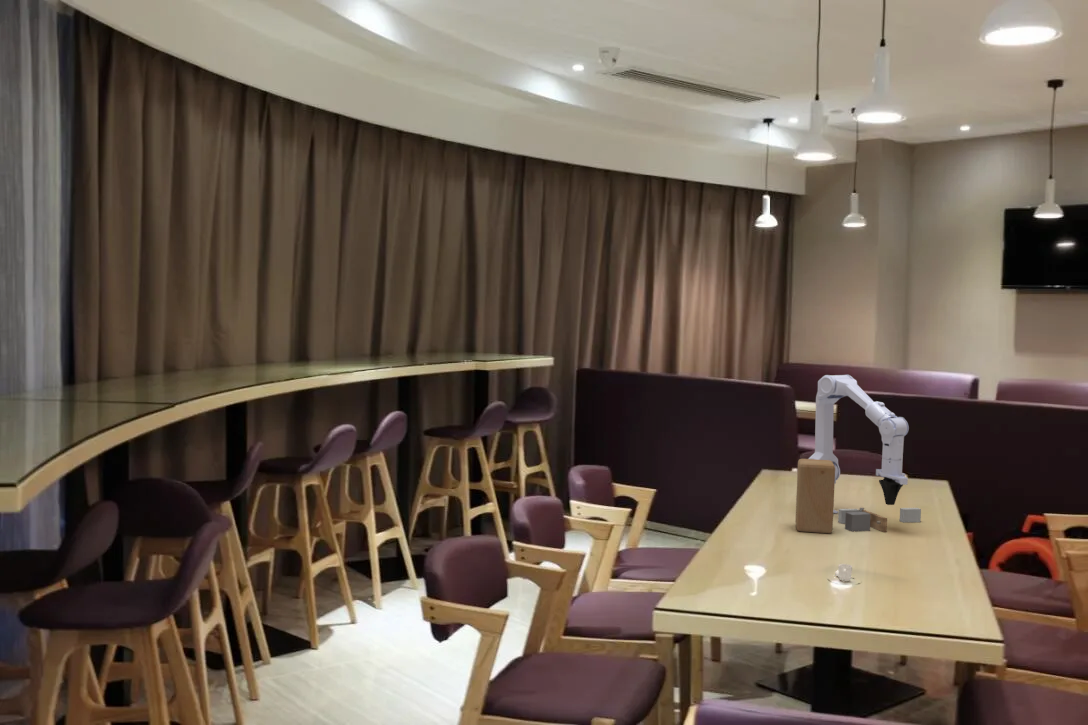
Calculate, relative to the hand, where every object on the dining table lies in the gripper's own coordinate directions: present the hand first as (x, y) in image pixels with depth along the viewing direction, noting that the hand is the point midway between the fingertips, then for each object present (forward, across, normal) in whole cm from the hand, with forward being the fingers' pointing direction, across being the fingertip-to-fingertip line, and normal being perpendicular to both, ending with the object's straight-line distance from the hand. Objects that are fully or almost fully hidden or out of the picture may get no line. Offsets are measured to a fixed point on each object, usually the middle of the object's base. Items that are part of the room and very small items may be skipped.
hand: (889, 504), depth 295 cm
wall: (+7, +9, -2) cm, 12 cm away
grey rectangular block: (+8, 0, +10) cm, 12 cm away
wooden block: (+8, +2, +23) cm, 24 cm away
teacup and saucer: (+8, -50, +36) cm, 62 cm away
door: (+7, +2, +4) cm, 9 cm away
